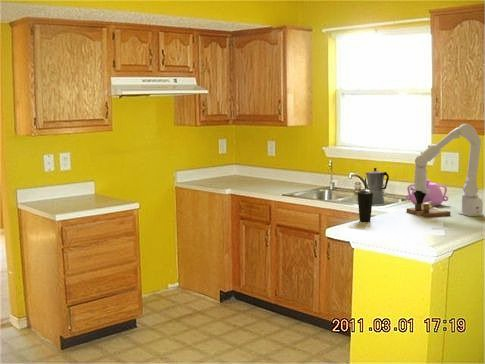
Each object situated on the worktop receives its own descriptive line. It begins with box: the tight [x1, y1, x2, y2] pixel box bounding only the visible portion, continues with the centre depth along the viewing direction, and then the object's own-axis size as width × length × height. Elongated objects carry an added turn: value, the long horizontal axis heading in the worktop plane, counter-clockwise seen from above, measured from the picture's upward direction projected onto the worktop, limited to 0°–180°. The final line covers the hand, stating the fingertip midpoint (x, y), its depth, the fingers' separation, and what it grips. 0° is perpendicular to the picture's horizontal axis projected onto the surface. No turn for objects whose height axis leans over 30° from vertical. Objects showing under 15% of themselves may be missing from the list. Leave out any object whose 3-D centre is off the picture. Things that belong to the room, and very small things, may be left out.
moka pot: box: [365, 167, 390, 206], centre depth 324 cm, size 10×15×20 cm, turn 44°
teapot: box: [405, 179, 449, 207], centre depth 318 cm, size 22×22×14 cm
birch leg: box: [414, 201, 434, 211], centre depth 295 cm, size 15×3×3 cm, turn 136°
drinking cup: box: [356, 177, 374, 223], centre depth 274 cm, size 8×8×20 cm
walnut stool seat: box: [406, 204, 451, 218], centre depth 292 cm, size 16×14×6 cm
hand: (419, 206), depth 297 cm, fingers closed, pressing on birch leg
